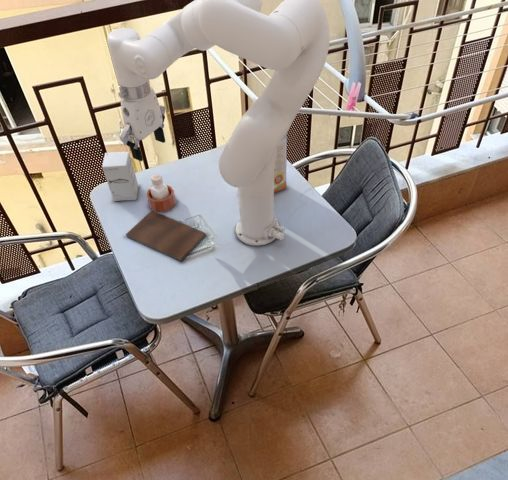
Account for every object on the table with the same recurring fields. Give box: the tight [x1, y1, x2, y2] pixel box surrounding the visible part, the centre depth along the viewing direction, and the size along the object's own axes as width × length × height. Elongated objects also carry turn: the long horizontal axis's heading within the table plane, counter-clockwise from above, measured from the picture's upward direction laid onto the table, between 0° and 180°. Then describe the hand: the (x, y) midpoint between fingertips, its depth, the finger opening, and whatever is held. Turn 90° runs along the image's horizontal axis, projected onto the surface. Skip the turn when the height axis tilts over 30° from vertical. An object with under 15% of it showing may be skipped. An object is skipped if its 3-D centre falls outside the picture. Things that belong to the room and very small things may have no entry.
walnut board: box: [125, 210, 207, 262], centre depth 134 cm, size 20×12×1 cm, turn 58°
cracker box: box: [274, 132, 288, 194], centre depth 136 cm, size 14×6×21 cm, turn 118°
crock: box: [146, 184, 177, 213], centre depth 141 cm, size 8×8×4 cm
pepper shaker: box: [149, 173, 169, 200], centre depth 139 cm, size 4×4×10 cm
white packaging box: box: [101, 150, 139, 202], centre depth 141 cm, size 7×7×13 cm
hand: (149, 150), depth 128 cm, fingers open, 9 cm apart
